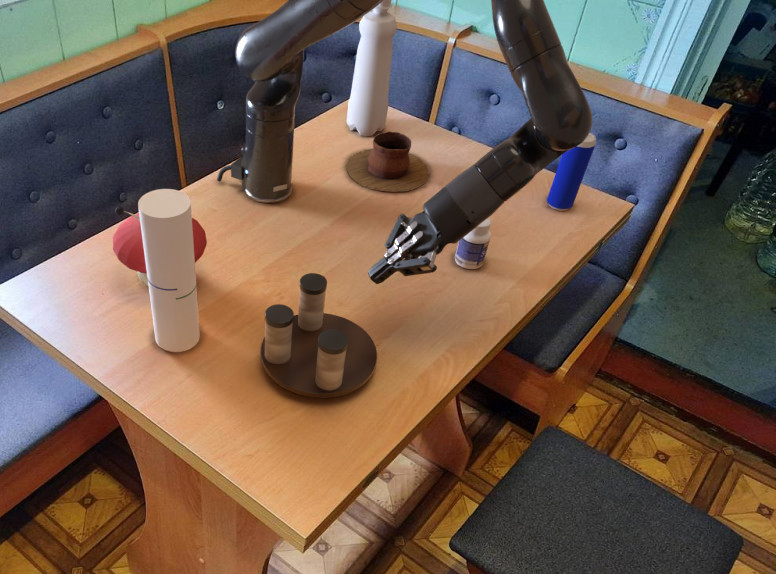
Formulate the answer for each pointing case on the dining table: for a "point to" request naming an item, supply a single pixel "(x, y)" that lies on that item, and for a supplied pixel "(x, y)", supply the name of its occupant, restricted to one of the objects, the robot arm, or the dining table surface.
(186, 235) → the cylindrical container
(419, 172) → the ceramic pot
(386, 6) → the bottle
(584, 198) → the dining table surface
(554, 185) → the beverage can
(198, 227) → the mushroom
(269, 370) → the spice rack
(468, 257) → the pill bottle
